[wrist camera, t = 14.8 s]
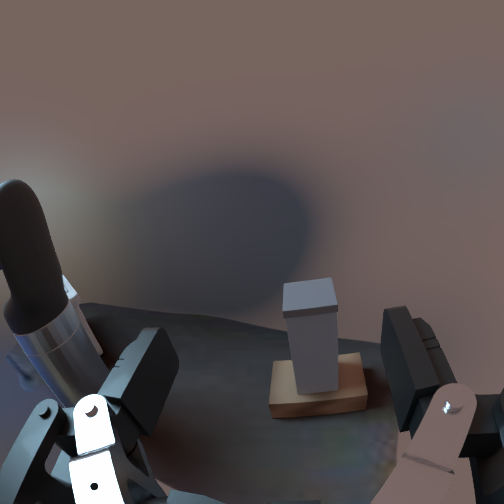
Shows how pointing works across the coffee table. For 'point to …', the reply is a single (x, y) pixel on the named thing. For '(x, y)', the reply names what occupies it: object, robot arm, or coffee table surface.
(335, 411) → the stand
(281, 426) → the coffee table surface
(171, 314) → the coffee table surface
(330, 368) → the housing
